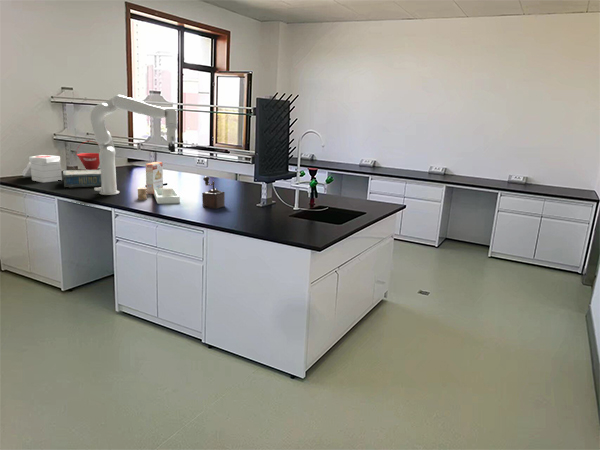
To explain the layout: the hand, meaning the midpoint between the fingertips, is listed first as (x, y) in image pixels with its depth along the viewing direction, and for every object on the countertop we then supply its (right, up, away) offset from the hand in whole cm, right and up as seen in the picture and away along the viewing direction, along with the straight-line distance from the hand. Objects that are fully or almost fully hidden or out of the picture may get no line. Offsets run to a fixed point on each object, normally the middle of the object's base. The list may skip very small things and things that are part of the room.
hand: (171, 151), depth 321 cm
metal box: (-69, -22, +23) cm, 76 cm away
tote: (+1, -35, -16) cm, 38 cm away
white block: (+4, -36, -24) cm, 43 cm away
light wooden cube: (-13, -35, -21) cm, 43 cm away
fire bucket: (-77, -14, +48) cm, 92 cm away
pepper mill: (+32, -40, -28) cm, 58 cm away
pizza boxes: (-109, -16, +34) cm, 116 cm away
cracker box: (-14, -28, +6) cm, 32 cm away
